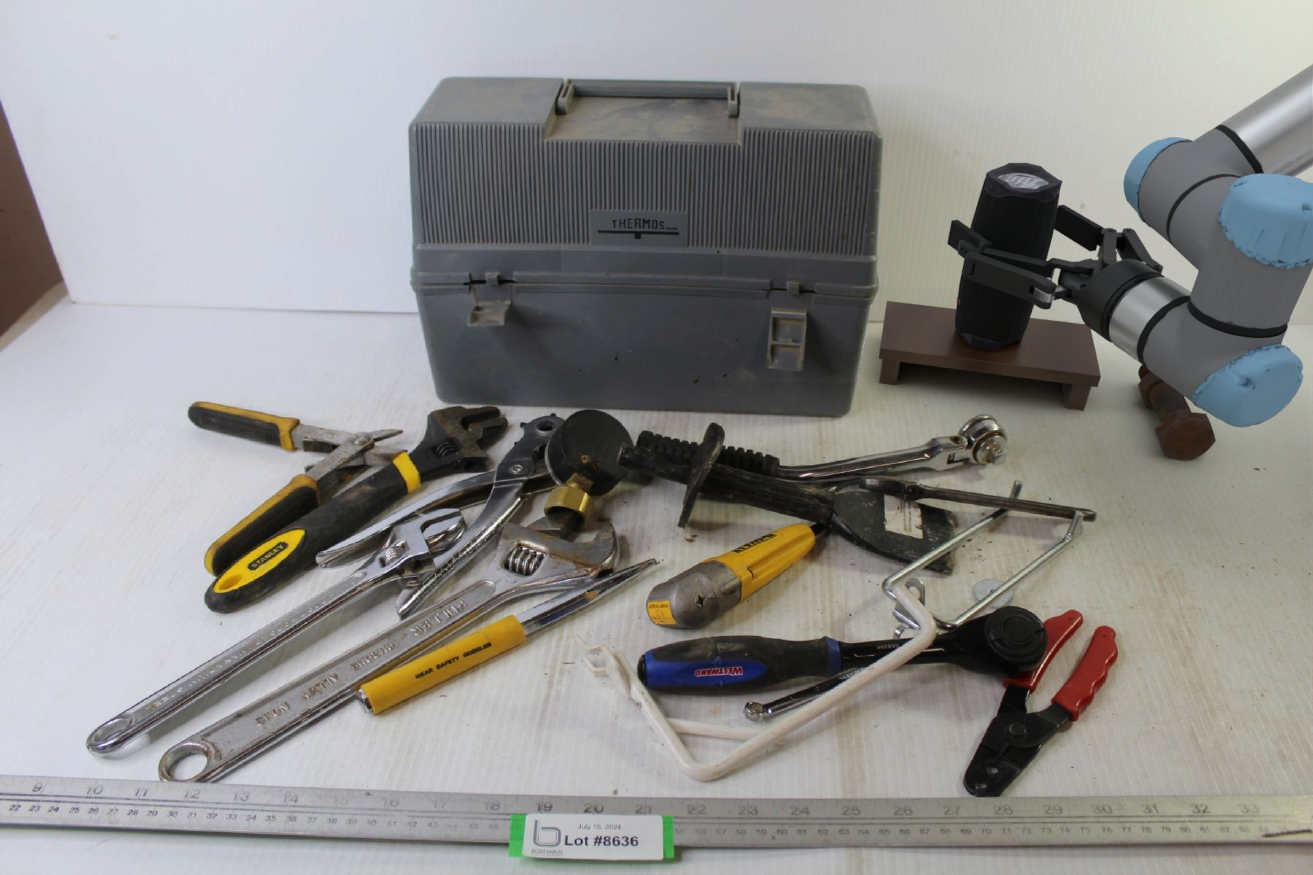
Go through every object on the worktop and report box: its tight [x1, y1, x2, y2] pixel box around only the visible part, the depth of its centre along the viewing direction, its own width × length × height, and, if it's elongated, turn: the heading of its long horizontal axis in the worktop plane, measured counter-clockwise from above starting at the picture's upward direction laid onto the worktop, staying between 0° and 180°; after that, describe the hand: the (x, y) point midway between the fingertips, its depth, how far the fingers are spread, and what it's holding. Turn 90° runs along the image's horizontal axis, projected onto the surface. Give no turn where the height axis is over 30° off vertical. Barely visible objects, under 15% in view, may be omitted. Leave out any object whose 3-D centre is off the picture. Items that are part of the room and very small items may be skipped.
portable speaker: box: [955, 162, 1063, 352], centre depth 108 cm, size 9×9×20 cm
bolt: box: [1137, 364, 1217, 461], centre depth 107 cm, size 6×5×15 cm
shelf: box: [878, 300, 1102, 411], centre depth 115 cm, size 24×12×5 cm, turn 75°
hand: (1005, 223), depth 107 cm, fingers open, 13 cm apart
